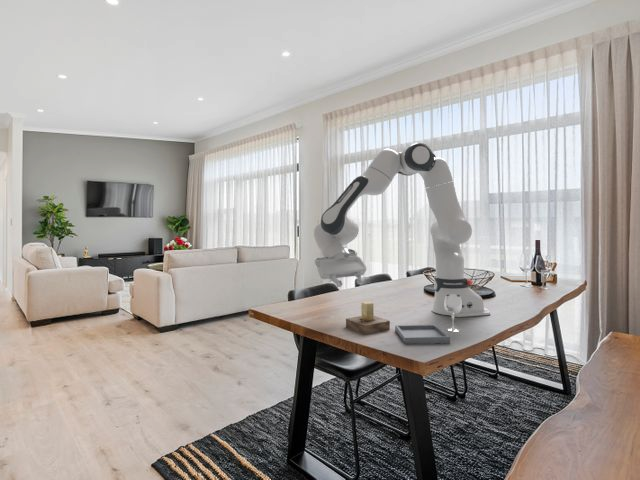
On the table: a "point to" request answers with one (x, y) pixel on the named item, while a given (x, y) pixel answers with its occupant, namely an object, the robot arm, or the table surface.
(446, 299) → the wineglass
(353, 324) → the block
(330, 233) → the robot arm
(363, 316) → the yellow rectangular block
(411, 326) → the tray
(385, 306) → the table surface
